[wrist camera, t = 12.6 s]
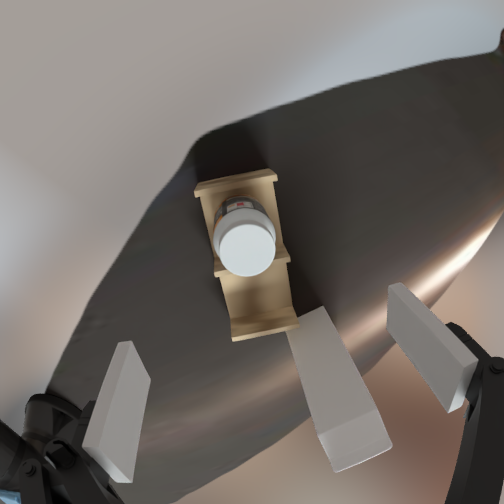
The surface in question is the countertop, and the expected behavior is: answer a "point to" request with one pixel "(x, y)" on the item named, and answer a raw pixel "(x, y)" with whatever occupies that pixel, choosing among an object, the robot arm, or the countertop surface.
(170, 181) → the countertop surface
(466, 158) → the countertop surface
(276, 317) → the rack
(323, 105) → the countertop surface
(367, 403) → the milk
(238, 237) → the pill bottle
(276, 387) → the countertop surface
